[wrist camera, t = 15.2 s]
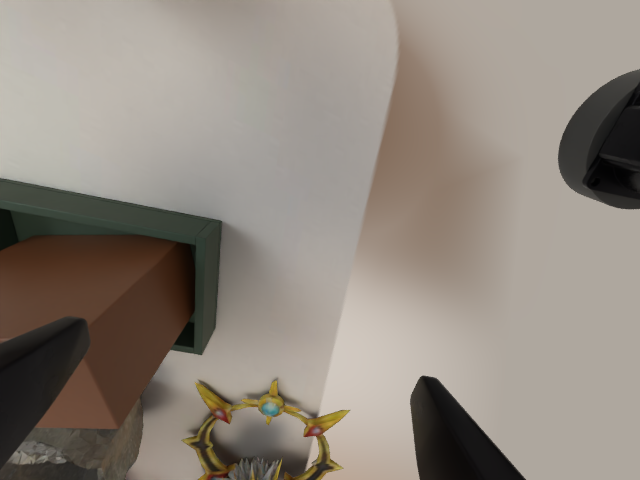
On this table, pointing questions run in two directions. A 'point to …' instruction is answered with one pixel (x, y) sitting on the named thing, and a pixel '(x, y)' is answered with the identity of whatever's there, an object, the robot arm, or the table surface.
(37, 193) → the green tray
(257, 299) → the table surface
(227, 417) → the gold jeweled crown
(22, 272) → the chocolate box
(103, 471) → the rock
